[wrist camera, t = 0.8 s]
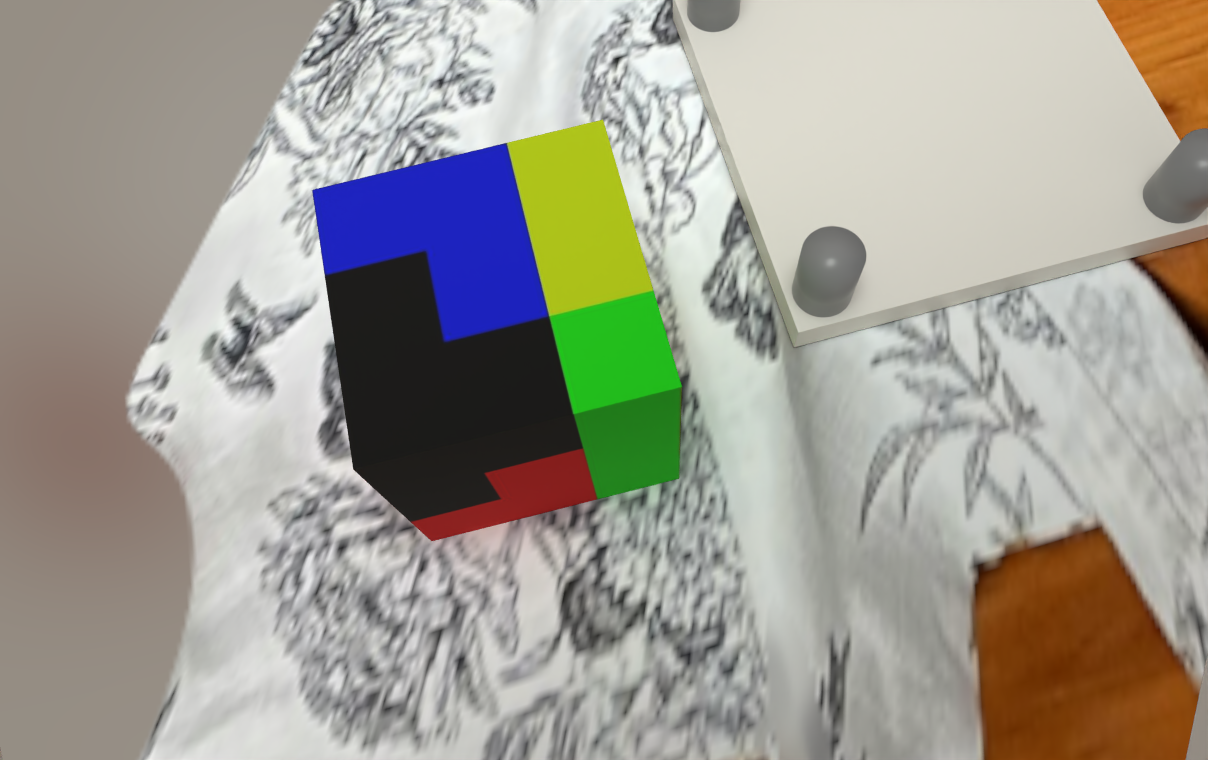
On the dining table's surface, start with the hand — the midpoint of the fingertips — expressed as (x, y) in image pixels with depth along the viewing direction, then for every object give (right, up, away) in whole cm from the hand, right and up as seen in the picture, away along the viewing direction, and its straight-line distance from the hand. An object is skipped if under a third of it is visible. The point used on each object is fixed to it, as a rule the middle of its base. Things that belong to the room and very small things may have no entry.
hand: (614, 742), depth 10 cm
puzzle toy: (-3, +3, +29) cm, 30 cm away
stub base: (+14, +16, +33) cm, 39 cm away
